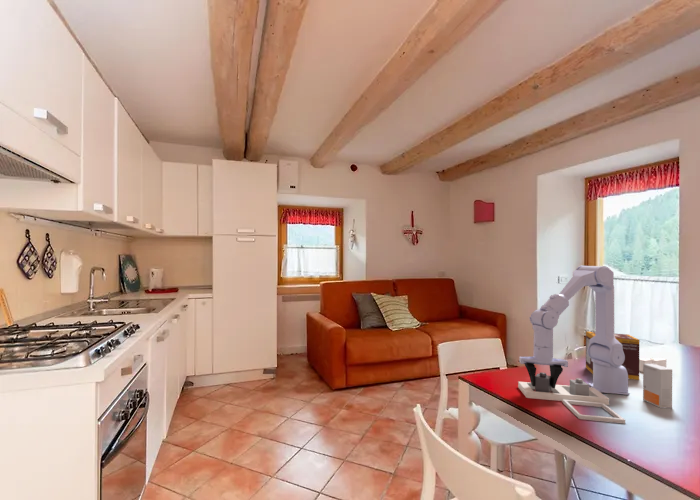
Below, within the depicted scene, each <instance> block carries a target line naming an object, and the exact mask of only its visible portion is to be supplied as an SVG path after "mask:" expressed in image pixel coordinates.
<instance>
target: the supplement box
mask: <svg viewBox="0 0 700 500" xmlns="http://www.w3.org/2000/svg"><path fill="white" fill-rule="evenodd" d="M594 336H595V331H589V330H588V331H585V368H586V369H587V370H588V371H589V372H590V373H591V374H592V375H593V362H592V361H591V358H590V357H589V356H588V353H587V349H588V346H589V342H590V339H591V338H592V337H594ZM614 337H615V338H616V339H617V340H618V341H619V342H620V343H621V344H622V348H623V352H624V355H625V360H624V362H623V364H622V365H621V366H624V367H625V368H626V370H627V373H628V380H635V381H640V371H639V359H640V339H638V338H636V337H634V336H633V335H630V334H625V333H614Z"/></svg>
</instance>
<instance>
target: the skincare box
mask: <svg viewBox="0 0 700 500" xmlns="http://www.w3.org/2000/svg"><path fill="white" fill-rule="evenodd" d="M642 376H643V377H642V379H643V381H642V400H643V402H647V403H649V404H652V405H653V406H656V407H657V408H660V409H671V408H673V369H671V368H669V367H667V366H666V367H663V366H659V365H656V364H643V372H642Z"/></svg>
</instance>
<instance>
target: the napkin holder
mask: <svg viewBox="0 0 700 500" xmlns="http://www.w3.org/2000/svg"><path fill="white" fill-rule="evenodd" d="M643 364H656V365H659V366H663V367H666V368H667V359H665V358H663V357H662V358H661V357H657V358H653V357H652V358H639V372H641V373H643Z"/></svg>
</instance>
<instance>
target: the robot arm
mask: <svg viewBox="0 0 700 500" xmlns="http://www.w3.org/2000/svg"><path fill="white" fill-rule="evenodd" d="M614 278H615V277H614V271H613V270H611V269H610V267H608V266H606V265H600V266H599V265H579V266H577V267H576V268H575V270H573V271H572V277H571V278H570V279H569V281H568V282H567V283H566V284H565V286H564V287H563V288H562V289H561V291H560V292H559V293H555V294H551V295H550V296H549V297H548V300H547V301H545V303H544V304H543V305H541V306H540V308H538V309H535V310H534V311H532V312H531V314H530V316H529V321H530V323H531V325H532V330H533V356H519V357H518V358H519V359H518V360H519V364H521V365H522V364H523V365H524V366H525V369H526V370H527V372H528V376H529V381H530V383H531V385H532V386H534V387H535V384H536V383H535V376H536V375H537V374H536V373H537V367H536V365H542V366H549V371H550V372H549V373H550V375H549V376H551V387H552V388H555V386H556V385H557V383H558V379H559V377H560V375H561V374H562V372H563V369H564V368H568V367H569V361H568V360H567V359H561V358H555V357H554V328H556V327H557V326H558V322H559V319H560V316H561V315H562V314H563V313H564V312H565V311H566V309H567V308H568V307H569V306H570V302H569V300H571V299H572V298H573V297H574V296H575V295H577V293H578V292H580V291H581V290H582V289H583V288H584V287H589V288H590V289H592V290H593V291H594V293H595V294H594V295H595V297H594V298H595V299H594V300H595V304H594V312H595V313H594V314H595V315H594V317H595V319H594V321H595V323H594V324H595V325H594V326H595V328H594V329H595V331H594V332H595V336H594V337H592V338H591V339H590V342H589V346H588V349H587V353H588V356H589V357H590V358H591V361H592V362H593V374H592V383H590V382H588V383H587V384H588V385H589V387H591V388H595V389H596V390H598V391H599V392H600V393H602V394H614V395H615V394H616V395H624V396H625V395H626V396H628V395H629V396H630V393H629V379H628V373H627V370H626V368H625V367H624V366H621V365H622V364H623V362H624V360H625V355H624V352H623V348H622V344H621V343H620V342H619V341H618V340H617V339H616V338H615V337H614V334H615V285H614ZM563 367H564V368H563Z"/></svg>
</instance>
